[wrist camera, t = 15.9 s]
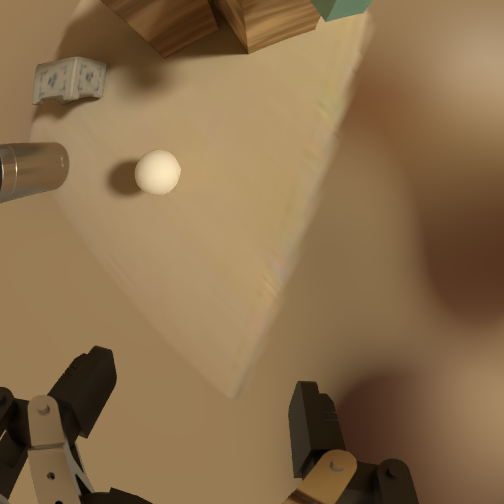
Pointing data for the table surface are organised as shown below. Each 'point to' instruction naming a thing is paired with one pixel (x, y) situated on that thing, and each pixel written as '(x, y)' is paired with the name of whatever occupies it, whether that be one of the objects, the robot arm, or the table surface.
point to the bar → (339, 8)
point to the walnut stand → (167, 21)
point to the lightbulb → (157, 172)
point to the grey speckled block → (69, 80)
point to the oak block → (268, 20)
